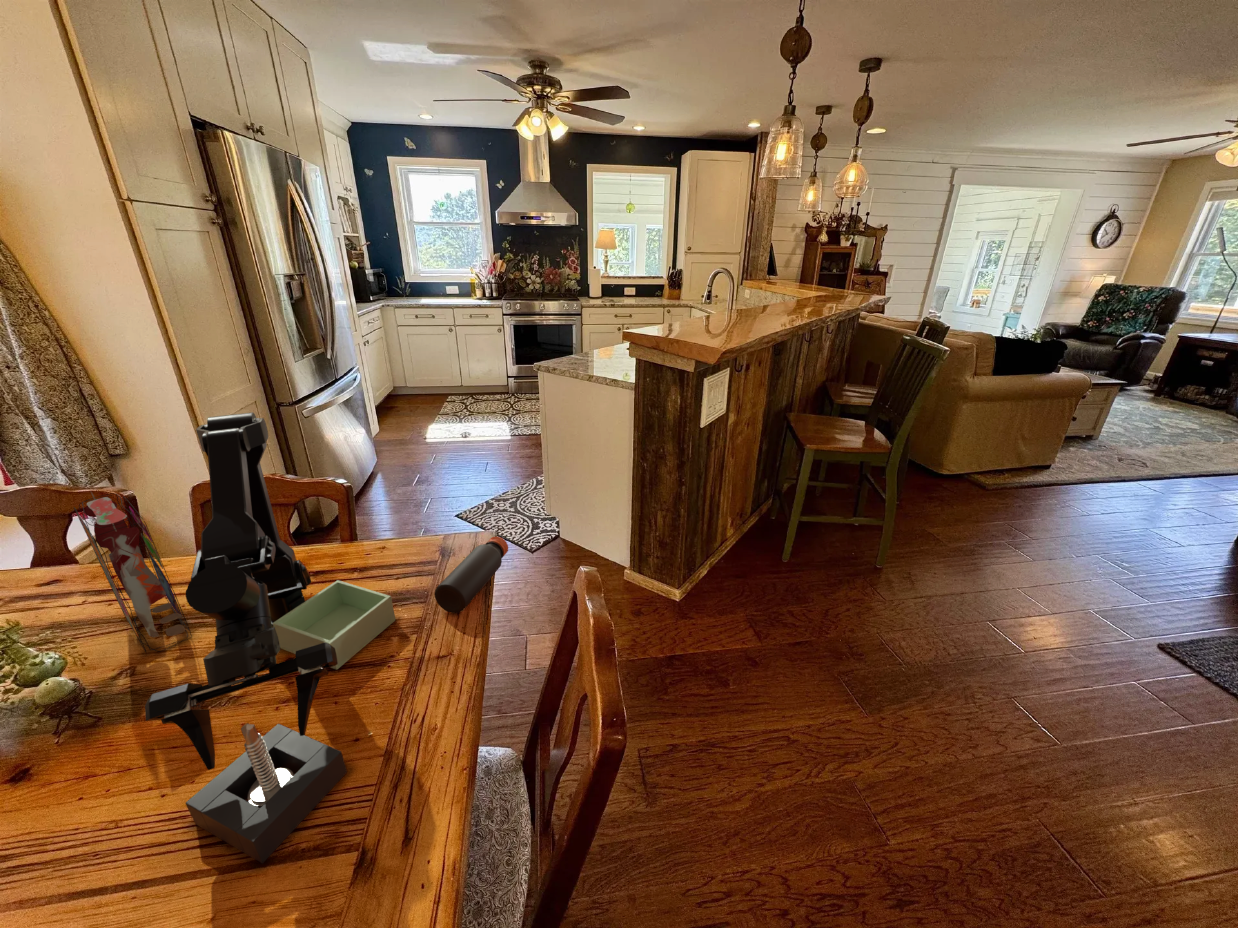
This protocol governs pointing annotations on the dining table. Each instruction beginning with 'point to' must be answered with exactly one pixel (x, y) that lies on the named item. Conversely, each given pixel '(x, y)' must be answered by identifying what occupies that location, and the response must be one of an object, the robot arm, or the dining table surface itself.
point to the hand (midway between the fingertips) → (258, 751)
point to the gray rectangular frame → (272, 823)
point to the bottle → (470, 575)
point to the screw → (262, 768)
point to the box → (131, 565)
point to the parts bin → (336, 620)
